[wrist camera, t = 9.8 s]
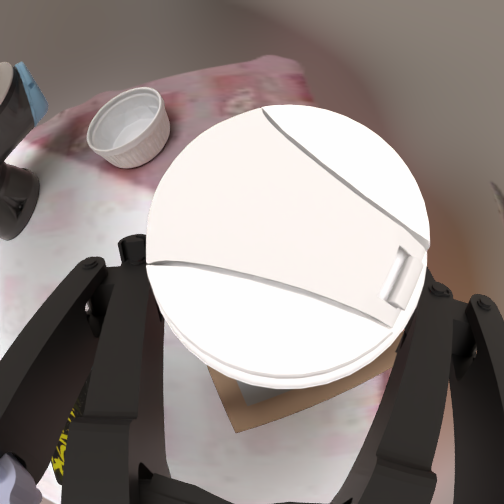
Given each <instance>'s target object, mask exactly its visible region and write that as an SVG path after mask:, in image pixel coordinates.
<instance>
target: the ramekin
mask: <svg viewBox="0 0 504 504" xmlns="http://www.w3.org/2000/svg"><path fill="white" fill-rule="evenodd" d="M169 134H170V123H169V119H168V116H167V113H166V110H165V105H164V101H163V98H162V97H161V95H160V94H159V92H158V91H156V90H155V89H152V88H148V87H140V88H134V89H131V90H128V91H125V92H123V93H121V94H119V95H117V96H116V97H114V98H113V99H111V100H110V101H109V102H108V103H106V104H105V105H104V106H103V107H102V108H101V109H100V110H99V111H98V113H97V114H96V115H95V117H94V118H93V120H92V121H91V123H90V126H89V128H88V132H87V142H88V145H89V146H90V148H91V149H92V150H93V151H94V152H95V153H97V154H99V155H101V156H102V157H103V158H104V159H106V160H107V161H108V162H110V163H111V164H113V165H115V166H117V167H120V168H133V167H137V166H140V165H143V164H145V163H147V162H148V161H150V160H151V159H153V158H154V157H155V156H156V155H157V154H158V153H159V152H160V151H161V150H162V148H163V147H164V145H165V143H166V142H167V139H168V137H169Z"/></svg>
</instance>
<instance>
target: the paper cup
mask: <svg viewBox="0 0 504 504" xmlns="http://www.w3.org/2000/svg"><path fill="white" fill-rule="evenodd" d="M429 247H430V232H429V221H428V217H427V212H426V207H425V203H424V200H423V197H422V195H421V192H420V190H419V187H418V185H417V182H416V181H415V179H414V177H413V176H412V174H411V172H410V170H409V169H408V167H407V166H406V164H405V163H404V162H403V160H402V159H401V158H400V157H399V155H398V154H397V153H396V152H395V151H394V149H392V147H390V146H389V145H388V144H387V143H386V142H385V141H384V140H383V139H382V138H381V137H380V136H378V135H377V134H375V133H374V132H372V131H371V130H370V129H368V128H366V127H365V126H364V125H362V124H360V123H358V122H356V121H354V120H352V119H350V118H348V117H346V116H343V115H340V114H337V113H335V112H331V111H329V110H325V109H320V108H315V107H310V106H300V105H274V106H266V107H262V108H257V109H254V110H251V111H248V112H246V113H243V114H240V115H237V116H234V117H232V118H230V119H227V120H225V121H223V122H220V123H218V124H216V125H214V126H213V127H211V128H210V129H208V130H206V131H205V132H203V133H201V134H200V135H199V136H198V137H197V138H195V139H194V140H193V141H192V142H191V143H190V144H188V145H187V146H186V147H185V149H184V150H183V151H182V152H181V153H180V154H179V155H178V157H177V158H176V159H175V160H174V161H173V163H172V164H171V166H170V167H169V169H168V170H167V171H166V173H165V174H164V176H163V178H162V179H161V181H160V183H159V185H158V187H157V189H156V191H155V194H154V196H153V199H152V203H151V206H150V210H149V213H148V223H147V234H146V263H148V265H146V269H147V274H148V278H149V281H150V284H151V287H152V289H153V293H154V296H155V298H156V301H157V303H158V306H159V308H160V311H161V313H162V315H163V317H164V318H165V320H166V322H167V323H168V325H169V327H170V328H171V330H172V332H173V333H174V334H175V335H176V336H177V338H178V339H179V340H180V341H181V342H182V343H183V344H184V346H185V347H186V348H187V349H188V350H189V351H190V352H192V353H193V354H194V355H195V356H196V357H198V358H199V359H200V360H201V361H202V362H204V363H205V364H206V365H208V366H210V367H211V368H213V369H215V370H217V371H218V372H220V373H222V374H224V375H226V376H228V377H230V378H233V379H236V380H239V381H241V382H244V383H247V384H250V385H255V386H261V387H267V388H273V389H302V388H308V387H313V386H318V385H323V384H328V383H330V382H333V381H336V380H338V379H341V378H343V377H346V376H349V375H351V374H353V373H354V372H356V371H358V370H359V369H361V368H363V367H364V366H366V365H368V364H369V363H371V362H372V361H373V360H375V359H376V358H377V357H378V356H379V355H380V354H381V353H383V352H384V351H385V350H386V349H387V348H388V347H389V346H390V345H391V344H392V343H393V342H394V341H395V339H396V338H397V337H398V336H399V334H400V333H401V332H402V330H403V329H404V328H405V326H406V325H407V323H408V321H409V319H410V317H411V316H412V314H413V312H414V310H415V308H416V306H417V303H418V300H419V297H420V295H421V291H422V288H423V285H424V280H425V273H426V267H427V250H428V248H429Z"/></svg>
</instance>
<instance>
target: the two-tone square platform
mask: <svg viewBox="0 0 504 504" xmlns="http://www.w3.org/2000/svg"><path fill="white" fill-rule="evenodd" d="M402 335H403V331H402V332H401V333H400V334H399V336H398V337H397V338H396V339H395V341H394V342H393V343H392V344H391V345H390V346H389V347H388V348H387V349H386V350H385V351H384V352H383V353H381V354H380V355H379V356H378V357H377V358H376V359H375V360H373V361H372V362H371V363H369V364H368V365H366V366H364V367H363V368H361V369H359V370H358V371H356V372H354V373H353V374H351V375H349V376H346V377H343V378H341V379H338V380H336V381H333V382H330V383H328V384H323V385H318V386H313V387H308V388H302V389H273V388H267V387H261V386H255V385H250V384H247V383H244V382H241V381H239V380H236V379H233V378H230V377H228V376H226V375H224V374H222V373H220V372H218V371H217V370H215V369H213V368H211V367H210V366H208V365H207V367H208V370H209V372H210V375H211V377H212V380H213V382H214V385H215V387H216V389H217V392H218V394H219V397H220V399H221V401H222V404H223V406H224V408H225V411H226V413H227V415H228V417H229V420H230V422H231V424H232V426H233V428H234V431H235V433H238V432H242V431H245V430H248V429H251V428H255V427H258V426H261V425H264V424H267V423H270V422H272V421H275V420H278V419H281V418H284V417H286V416H289V415H292V414H294V413H297V412H299V411H302V410H304V409H307V408H309V407H312V406H314V405H316V404H319V403H321V402H323V401H326V400H328V399H330V398H332V397H335V396H337V395H339V394H341V393H343V392H345V391H347V390H349V389H352V388H354V387H356V386H358V385H360V384H362V383H364V382H366V381H367V380H369V379H371V378H373V377H375V376H377V375H379V374H381V373H382V372H384V371H386V370H388V369H390V368H391V367H393V365H394V361H395V358H396V355H397V353H396V352H395V351H396V349H397V347H398V344H399V342H400V340H401V338H402Z"/></svg>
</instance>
